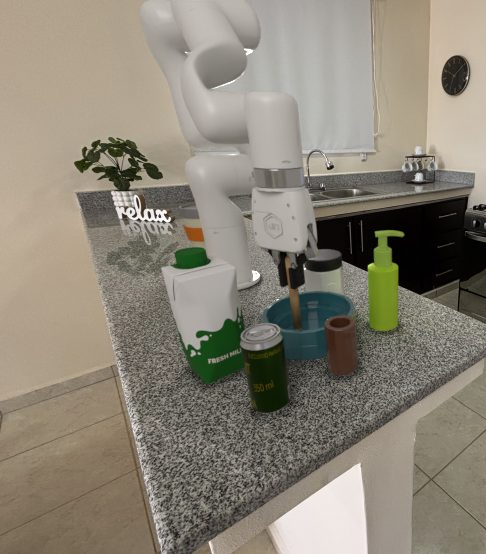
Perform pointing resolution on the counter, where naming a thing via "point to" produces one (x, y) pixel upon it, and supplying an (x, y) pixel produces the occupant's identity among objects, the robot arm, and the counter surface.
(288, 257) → the stick
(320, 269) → the jar
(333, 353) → the utensil cup
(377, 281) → the soap dispenser
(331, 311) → the bowl
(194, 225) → the reusable coffee cup
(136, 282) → the counter surface
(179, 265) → the milk carton
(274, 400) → the beer can
